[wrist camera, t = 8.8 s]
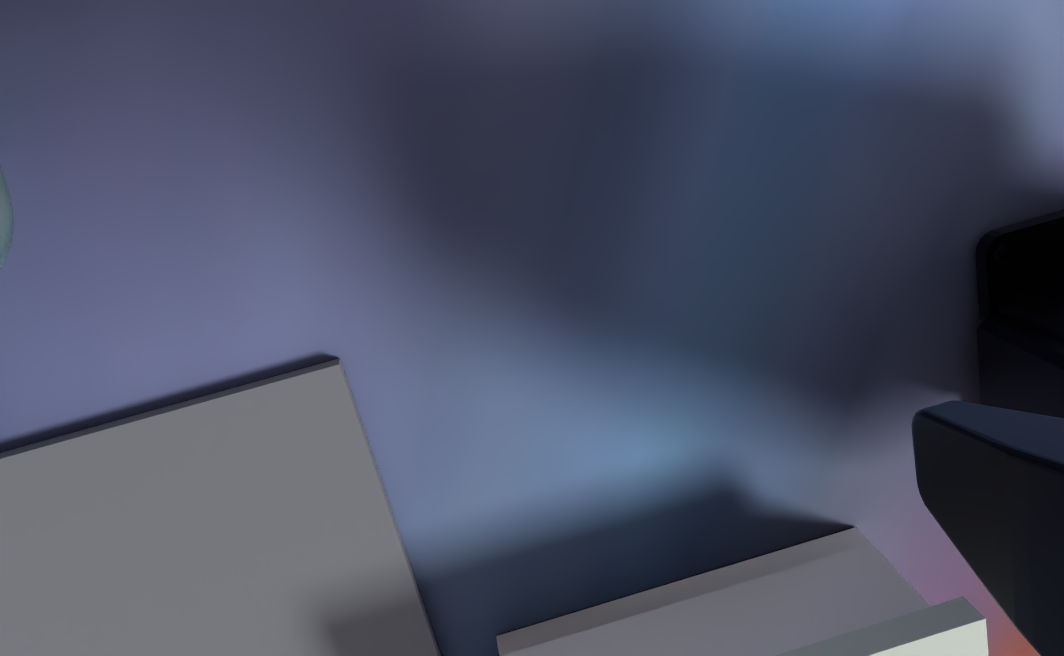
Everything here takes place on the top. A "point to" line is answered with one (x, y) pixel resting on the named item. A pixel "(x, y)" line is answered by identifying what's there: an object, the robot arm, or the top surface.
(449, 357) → the top surface
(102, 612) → the mat
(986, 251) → the robot arm
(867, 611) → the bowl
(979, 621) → the lid
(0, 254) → the flower pot
